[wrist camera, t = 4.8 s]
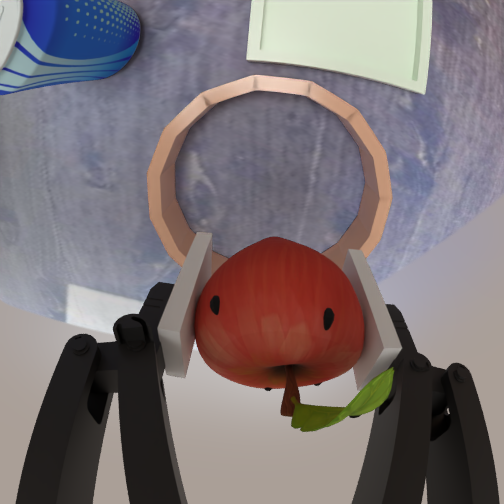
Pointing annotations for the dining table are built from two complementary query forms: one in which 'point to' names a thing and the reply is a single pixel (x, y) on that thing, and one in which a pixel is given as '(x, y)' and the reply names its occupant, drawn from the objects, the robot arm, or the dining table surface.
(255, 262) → the apple
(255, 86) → the ring band
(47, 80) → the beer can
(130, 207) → the dining table surface
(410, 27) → the tray
